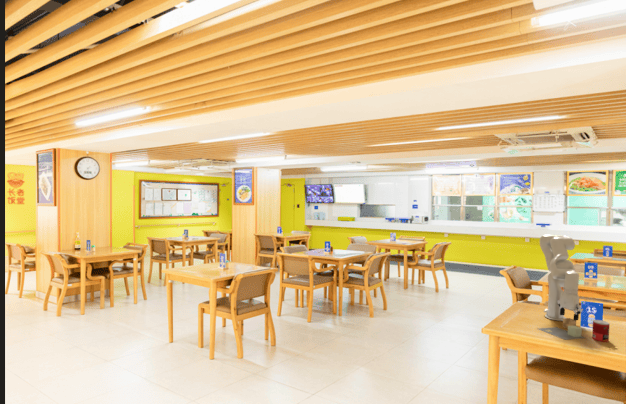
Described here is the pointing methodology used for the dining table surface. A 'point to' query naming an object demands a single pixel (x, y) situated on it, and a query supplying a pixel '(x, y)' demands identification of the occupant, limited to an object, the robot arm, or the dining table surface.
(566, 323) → the oak block
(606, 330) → the canned food
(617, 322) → the dining table surface
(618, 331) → the dining table surface
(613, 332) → the dining table surface
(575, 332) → the sage block
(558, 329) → the mat
